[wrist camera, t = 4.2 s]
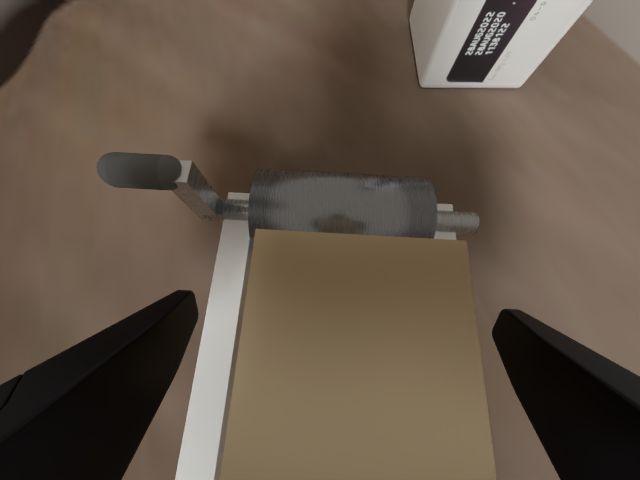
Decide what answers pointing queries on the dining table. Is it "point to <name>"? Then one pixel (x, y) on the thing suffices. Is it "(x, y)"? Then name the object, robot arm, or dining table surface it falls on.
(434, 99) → the dining table surface
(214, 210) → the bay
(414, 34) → the container
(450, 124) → the dining table surface
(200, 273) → the dining table surface
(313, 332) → the tan wooden block
